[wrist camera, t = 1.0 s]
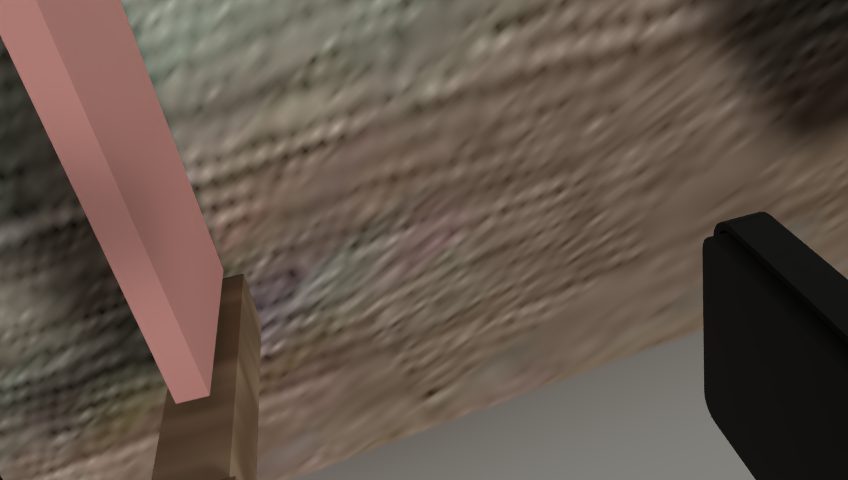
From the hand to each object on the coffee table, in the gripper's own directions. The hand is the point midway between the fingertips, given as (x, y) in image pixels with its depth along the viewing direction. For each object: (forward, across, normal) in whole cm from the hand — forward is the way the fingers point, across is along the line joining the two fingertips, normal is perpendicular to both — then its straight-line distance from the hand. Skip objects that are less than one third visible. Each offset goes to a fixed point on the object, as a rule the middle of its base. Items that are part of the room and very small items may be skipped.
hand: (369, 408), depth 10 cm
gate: (+22, +7, +1) cm, 23 cm away
